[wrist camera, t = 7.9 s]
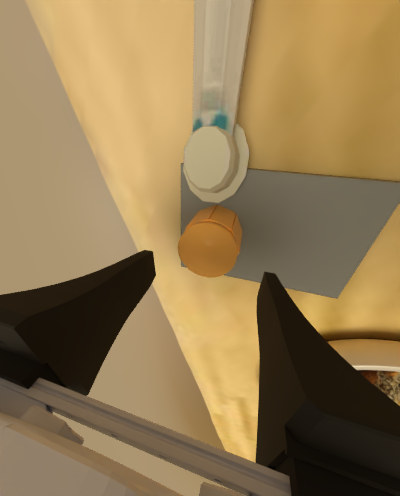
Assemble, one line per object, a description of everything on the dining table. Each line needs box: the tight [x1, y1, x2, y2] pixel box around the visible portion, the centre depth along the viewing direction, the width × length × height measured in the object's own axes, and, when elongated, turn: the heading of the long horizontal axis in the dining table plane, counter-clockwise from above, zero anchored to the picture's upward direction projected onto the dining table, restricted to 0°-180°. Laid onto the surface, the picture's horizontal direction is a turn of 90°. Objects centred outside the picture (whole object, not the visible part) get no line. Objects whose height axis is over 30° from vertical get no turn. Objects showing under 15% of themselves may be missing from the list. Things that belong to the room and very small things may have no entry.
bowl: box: [327, 339, 400, 406], centre depth 24 cm, size 30×30×8 cm
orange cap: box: [178, 204, 242, 277], centre depth 17 cm, size 5×5×5 cm
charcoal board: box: [181, 163, 400, 298], centre depth 17 cm, size 18×12×4 cm, turn 87°
